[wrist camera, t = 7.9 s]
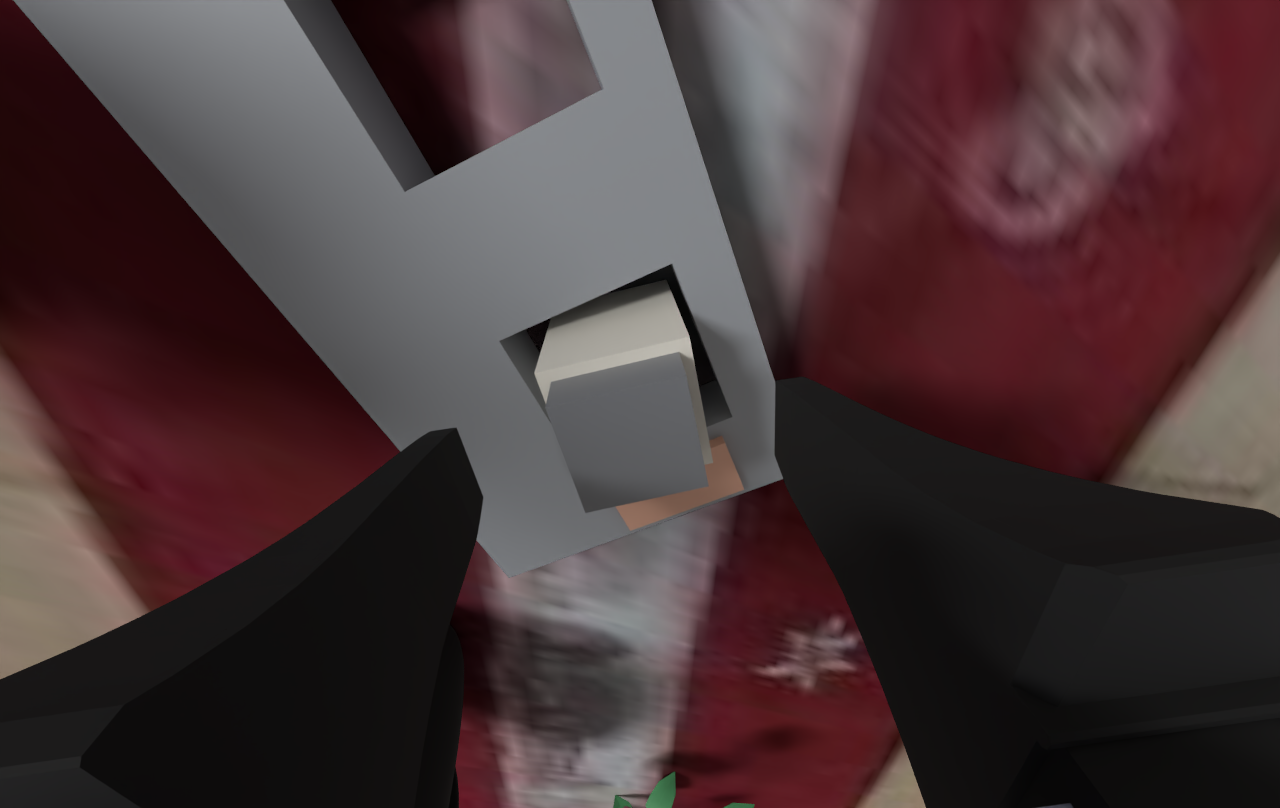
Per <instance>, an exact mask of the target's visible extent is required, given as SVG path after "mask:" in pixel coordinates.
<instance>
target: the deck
mask: <svg viewBox="0 0 1280 808" xmlns="http://www.w3.org/2000/svg"><path fill="white" fill-rule="evenodd" d="M14 2H15V3H16V4H17V5H18V6H19V7H20V9H21V10H22V11H23V12H24V13H25V14H26V16H27V17H28V18H29V19H30V20H31V21H32V23H33V24H34V25H35V26H36V27H37V28H38V30H39V31H40V32H41V33H42V34H43V35H44V37H45V38H46V39H47V40H48V41H49V42H50V44H51V45H52V46H53V47H54V48H55V49H56V51H57V52H58V53H59V54H60V55H61V56H62V57H63V59H64V60H65V61H66V62H67V63H68V64H69V66H70V67H71V68H72V69H73V70H74V71H75V73H76V74H77V75H78V76H79V77H80V78H81V80H82V81H83V82H84V83H85V84H86V85H87V87H88V88H89V89H90V90H91V91H92V92H93V94H94V95H95V96H96V97H97V98H98V99H99V101H100V102H101V103H102V104H103V105H104V106H105V108H106V109H107V110H108V111H109V112H110V113H111V115H112V116H113V117H114V118H115V119H116V120H117V122H118V123H119V124H120V125H121V126H122V127H123V129H124V130H125V131H126V132H127V133H128V134H129V136H130V137H131V138H132V139H133V140H134V141H135V143H136V144H137V145H138V146H139V147H140V148H141V150H142V151H143V152H144V153H145V154H146V155H147V157H148V158H149V159H150V160H151V161H152V162H153V164H154V165H155V166H156V167H157V168H158V169H159V171H160V172H161V173H162V174H163V175H164V176H165V178H166V179H167V180H168V181H169V182H170V183H171V185H172V186H173V187H174V188H175V189H176V190H177V192H178V193H179V194H180V195H181V196H182V197H183V199H184V200H185V201H186V202H187V203H188V204H189V206H190V207H191V208H192V209H193V210H194V211H195V213H196V214H197V215H198V216H199V217H200V218H201V220H202V221H203V222H204V223H205V224H206V225H207V227H208V228H209V229H210V230H211V231H212V232H213V234H214V235H215V236H216V237H217V238H218V239H219V241H220V242H221V243H222V244H223V245H224V246H225V248H226V249H227V250H228V251H229V252H230V253H231V254H232V256H233V257H234V258H235V259H236V260H237V261H238V263H239V264H240V265H241V266H242V267H243V268H244V270H245V271H246V272H247V273H248V274H249V275H250V277H251V278H252V279H253V280H254V281H255V282H256V284H257V285H258V286H259V287H260V288H261V289H262V291H263V292H264V293H265V294H266V295H267V296H268V298H269V299H270V300H271V301H272V302H273V303H274V305H275V306H276V307H277V308H278V309H279V310H280V312H281V313H282V314H283V315H284V316H285V317H286V319H287V320H288V321H289V322H290V323H291V324H292V326H293V327H294V328H295V329H296V330H297V331H298V333H299V334H300V335H301V336H302V337H303V338H304V340H305V341H306V342H307V343H308V344H309V345H310V347H311V348H312V349H313V350H314V351H315V352H316V354H317V355H318V356H319V357H320V358H321V359H322V361H323V362H324V363H325V364H326V365H327V366H328V368H329V369H330V370H331V371H332V372H333V373H334V375H335V376H336V377H337V378H338V379H339V380H340V382H341V383H342V384H343V385H344V386H345V387H346V389H347V390H348V391H349V392H350V393H351V394H352V396H353V397H354V398H355V399H356V400H357V401H358V403H359V404H360V405H361V406H362V407H363V408H364V410H365V411H366V412H367V413H368V414H369V415H370V417H371V418H372V419H373V420H374V421H375V422H376V424H377V425H378V426H379V427H380V428H381V429H382V431H383V432H384V433H385V434H386V435H387V436H388V438H389V439H390V440H391V441H392V442H393V443H394V445H395V446H396V447H397V448H398V449H399V450H400V451H402V450H404V449H405V448H406V447H408V446H409V445H410V444H412V443H413V442H414V441H416V440H417V439H418V438H420V437H421V436H423V435H425V434H426V433H428V432H430V431H435V430H442V429H449V428H456V427H457V430H458V433H459V435H460V438H461V440H462V443H463V445H464V448H465V451H466V453H467V456H468V458H469V461H470V463H471V466H472V469H473V471H474V474H475V476H476V479H477V482H478V484H479V487H480V489H481V492H482V494H483V504H482V511H481V518H480V524H479V529H478V535H477V539H476V540H477V541H478V542H479V544H480V545H481V546H482V547H483V548H484V549H485V551H486V552H487V553H488V554H489V555H490V556H491V558H492V559H493V560H494V561H495V562H496V563H497V565H498V566H499V567H500V568H501V569H502V570H503V572H504V573H505V574H506V575H507V576H508V577H509V578H510V577H513V576H516V575H518V574H521V573H524V572H527V571H529V570H532V569H535V568H538V567H541V566H543V565H546V564H549V563H552V562H554V561H557V560H560V559H563V558H565V557H568V556H571V555H574V554H576V553H579V552H582V551H585V550H588V549H590V548H593V547H596V546H599V545H601V544H604V543H607V542H610V541H612V540H615V539H618V538H621V537H623V536H626V535H629V534H632V533H635V532H637V531H640V530H643V529H646V528H648V527H651V526H654V525H657V524H659V523H662V522H665V521H668V520H671V519H673V518H676V517H679V516H682V515H684V514H687V513H690V512H693V511H695V510H698V509H701V508H704V507H706V506H709V505H712V504H715V503H718V502H720V501H723V500H726V499H729V498H731V497H734V496H737V495H740V494H742V493H745V492H748V491H751V490H753V489H756V488H759V487H762V486H765V485H767V484H770V483H773V482H776V481H778V480H781V479H783V477H782V474H781V471H780V469H779V466H778V463H777V461H776V458H775V455H774V448H775V380H774V377H773V374H772V371H771V368H770V365H769V362H768V359H767V356H766V353H765V350H764V346H763V343H762V340H761V337H760V334H759V331H758V328H757V325H756V322H755V319H754V316H753V312H752V309H751V306H750V303H749V300H748V297H747V294H746V291H745V288H744V285H743V281H742V278H741V275H740V272H739V269H738V266H737V263H736V260H735V257H734V254H733V251H732V247H731V244H730V241H729V238H728V235H727V232H726V229H725V226H724V223H723V220H722V217H721V213H720V210H719V207H718V204H717V201H716V198H715V195H714V192H713V189H712V186H711V183H710V179H709V176H708V173H707V170H706V167H705V164H704V161H703V158H702V155H701V152H700V149H699V145H698V142H697V139H696V136H695V133H694V130H693V127H692V124H691V121H690V118H689V114H688V111H687V108H686V105H685V102H684V99H683V96H682V93H681V90H680V87H679V84H678V80H677V77H676V74H675V71H674V68H673V65H672V62H671V59H670V56H669V53H668V50H667V46H666V43H665V40H664V37H663V34H662V31H661V28H660V25H659V22H658V19H657V16H656V12H655V9H654V6H653V3H652V0H567V3H568V6H569V8H570V11H571V13H572V16H573V18H574V21H575V23H576V26H577V28H578V31H579V33H580V36H581V38H582V41H583V44H584V46H585V49H586V51H587V54H588V56H589V59H590V61H591V64H592V66H593V69H594V71H595V74H596V76H597V79H598V82H599V84H600V87H601V89H602V90H600V91H598V92H596V93H594V94H592V95H591V96H589V97H587V98H585V99H583V100H581V101H579V102H577V103H575V104H573V105H571V106H569V107H567V108H565V109H564V110H562V111H560V112H558V113H556V114H554V115H552V116H550V117H548V118H546V119H544V120H542V121H540V122H539V123H537V124H535V125H533V126H531V127H529V128H527V129H525V130H523V131H521V132H519V133H517V134H515V135H513V136H512V137H510V138H508V139H506V140H504V141H502V142H500V143H498V144H496V145H494V146H492V147H490V148H488V149H486V150H485V151H483V152H481V153H479V154H477V155H475V156H473V157H471V158H469V159H467V160H465V161H463V162H461V163H459V164H458V165H456V166H454V167H452V168H450V169H448V170H446V171H444V172H442V173H440V174H438V175H436V176H435V175H434V174H433V172H432V170H431V168H430V167H429V165H428V163H427V162H426V160H425V158H424V157H423V155H422V153H421V152H420V150H419V148H418V146H417V145H416V143H415V141H414V140H413V138H412V136H411V135H410V133H409V131H408V130H407V128H406V126H405V125H404V123H403V121H402V119H401V118H400V116H399V114H398V113H397V111H396V109H395V108H394V106H393V104H392V103H391V101H390V99H389V97H388V96H387V94H386V92H385V91H384V89H383V87H382V86H381V84H380V82H379V81H378V79H377V77H376V76H375V74H374V72H373V70H372V69H371V67H370V65H369V64H368V62H367V60H366V59H365V57H364V55H363V54H362V52H361V50H360V48H359V47H358V45H357V43H356V42H355V40H354V38H353V37H352V35H351V33H350V32H349V30H348V28H347V27H346V25H345V23H344V21H343V20H342V18H341V16H340V15H339V13H338V11H337V10H336V8H335V6H334V5H333V3H332V1H331V0H14ZM670 264H671V267H672V269H673V272H674V274H675V277H676V279H677V282H678V284H679V287H680V289H681V292H682V294H683V297H684V299H685V302H686V305H687V307H688V310H689V312H690V315H691V317H692V320H693V322H694V325H695V327H696V330H697V332H698V335H699V337H700V340H701V343H702V345H703V348H704V350H705V353H706V355H707V358H708V360H709V363H710V365H711V368H712V370H713V373H714V375H715V378H716V380H714V381H712V382H709V383H707V384H704V385H702V386H699V390H700V395H701V400H702V406H703V411H704V416H705V422H706V427H707V432H708V437H709V443H710V448H711V453H712V459H713V463H711V464H706V465H705V470H706V475H707V480H708V485H709V486H708V487H703V488H699V489H694V490H690V491H685V492H680V493H676V494H671V495H667V496H662V497H657V498H653V499H648V500H643V501H639V502H634V503H630V504H625V505H620V506H616V507H611V508H607V509H602V510H597V511H593V512H588V513H585V511H584V508H583V505H582V503H581V500H580V498H579V495H578V492H577V490H576V487H575V484H574V482H573V479H572V477H571V474H570V471H569V469H568V466H567V464H566V461H565V458H564V456H563V453H562V451H561V448H560V445H559V443H558V440H557V438H556V435H555V432H554V430H553V427H552V425H551V422H550V419H549V417H548V414H547V411H546V409H545V406H546V403H545V401H544V398H543V395H542V393H541V390H540V387H539V385H538V382H537V380H536V377H535V374H534V372H535V369H536V366H537V362H538V359H539V356H540V353H539V351H538V349H537V348H536V346H535V344H534V342H533V341H532V339H531V337H530V336H529V334H528V332H527V331H526V329H527V328H529V327H532V326H534V325H536V324H538V323H541V322H543V321H545V320H547V319H549V318H552V317H554V316H556V315H558V314H561V313H563V312H565V311H567V310H570V309H572V308H574V307H576V306H579V305H581V304H583V303H585V302H587V301H590V300H592V299H594V298H596V297H599V296H601V295H603V294H605V293H608V292H610V291H612V290H614V289H616V288H619V287H621V286H623V285H625V284H628V283H630V282H632V281H634V280H637V279H639V278H641V277H643V276H646V275H648V274H650V273H652V272H654V271H657V270H659V269H661V268H663V267H666V266H668V265H670Z"/></svg>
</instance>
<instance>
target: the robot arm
mask: <svg viewBox="0 0 1280 808" xmlns="http://www.w3.org/2000/svg"><path fill="white" fill-rule="evenodd" d="M774 455H775V458H776V461H777V463H778V466H779V469H780V471H781V474H782V477H783V479H784V482H785V484H786V487H787V489H788V492H789V494H790V496H791V497H792V499H793V501H794V503H795V505H796V507H797V508H798V510H799V512H800V514H801V516H802V518H803V519H804V521H805V523H806V525H807V527H808V528H809V530H810V532H811V534H812V536H813V537H814V539H815V541H816V543H817V545H818V546H819V548H820V550H821V552H822V554H823V555H824V557H825V559H826V561H827V563H828V564H829V566H830V568H831V570H832V572H833V573H834V575H835V577H836V579H837V581H838V583H839V585H840V587H841V589H842V591H843V594H844V596H845V598H846V601H847V603H848V605H849V608H850V610H851V612H852V615H853V617H854V619H855V622H856V624H857V626H858V629H859V631H860V633H861V636H862V638H863V641H864V643H865V646H866V648H867V651H868V653H869V656H870V658H871V661H872V663H873V666H874V668H875V671H876V673H877V676H878V678H879V680H880V683H881V685H882V688H883V691H884V693H885V696H886V699H887V701H888V704H889V707H890V709H891V712H892V715H893V717H894V720H895V722H896V725H897V728H898V730H899V733H900V736H901V738H902V741H903V744H904V746H905V749H906V752H907V755H908V758H909V760H910V763H911V766H912V769H913V772H914V775H915V777H916V780H917V783H918V786H919V789H920V792H921V794H922V797H923V800H924V803H925V806H926V808H1280V518H1278V517H1277V516H1275V515H1273V514H1271V513H1269V512H1266V511H1264V510H1260V509H1253V508H1246V507H1240V506H1233V505H1227V504H1220V503H1214V502H1207V501H1201V500H1194V499H1188V498H1181V497H1174V496H1168V495H1161V494H1155V493H1149V492H1144V491H1138V490H1133V489H1128V488H1123V487H1118V486H1113V485H1108V484H1103V483H1098V482H1094V481H1089V480H1084V479H1080V478H1075V477H1071V476H1067V475H1062V474H1058V473H1054V472H1049V471H1046V470H1042V469H1038V468H1034V467H1031V466H1027V465H1023V464H1019V463H1016V462H1012V461H1008V460H1004V459H1001V458H998V457H994V456H991V455H988V454H984V453H981V452H978V451H975V450H972V449H969V448H966V447H963V446H960V445H957V444H955V443H952V442H949V441H946V440H943V439H940V438H938V437H935V436H932V435H930V434H927V433H925V432H922V431H920V430H917V429H915V428H913V427H910V426H908V425H905V424H903V423H901V422H898V421H896V420H894V419H891V418H889V417H887V416H885V415H883V414H880V413H878V412H876V411H874V410H872V409H870V408H868V407H866V406H863V405H861V404H859V403H857V402H855V401H853V400H851V399H849V398H847V397H845V396H843V395H841V394H839V393H837V392H835V391H833V390H831V389H829V388H827V387H825V386H823V385H821V384H819V383H817V382H815V381H812V380H810V379H808V378H805V377H797V378H790V379H783V380H777V381H775V448H774ZM482 504H483V494H482V492H481V489H480V487H479V484H478V482H477V479H476V476H475V474H474V471H473V469H472V466H471V463H470V461H469V458H468V456H467V453H466V451H465V448H464V445H463V443H462V440H461V438H460V435H459V433H458V430H457V427H456V428H449V429H442V430H435V431H430V432H428V433H426V434H425V435H423V436H421V437H420V438H418V439H417V440H416V441H414V442H413V443H412V444H410V445H409V446H408V447H406V448H405V449H404V450H402V451H401V452H400V453H398V454H397V455H396V456H395V457H393V458H392V459H391V460H389V461H388V462H387V463H386V464H384V465H383V466H382V467H380V468H379V469H378V470H377V471H375V472H374V473H373V474H371V475H370V476H369V477H368V478H366V479H365V480H364V481H362V482H361V483H360V484H359V485H357V486H356V487H355V488H353V489H352V490H351V491H349V492H348V493H346V494H345V495H344V496H342V497H341V498H340V499H338V500H337V501H335V502H334V503H333V504H331V505H330V506H329V507H327V508H326V509H324V510H323V511H322V512H320V513H319V514H318V515H316V516H315V517H314V518H312V519H311V520H309V521H308V522H306V523H305V524H303V525H302V526H300V527H299V528H297V529H296V530H294V531H293V532H291V533H290V534H288V535H287V536H285V537H284V538H282V539H280V540H279V541H277V542H276V543H274V544H272V545H271V546H269V547H267V548H266V549H264V550H263V551H261V552H259V553H258V554H256V555H255V556H253V557H251V558H249V559H248V560H246V561H244V562H243V563H241V564H239V565H237V566H235V567H234V568H232V569H230V570H228V571H226V572H225V573H223V574H221V575H219V576H217V577H216V578H214V579H212V580H210V581H208V582H206V583H205V584H203V585H201V586H199V587H197V588H196V589H194V590H192V591H190V592H188V593H187V594H185V595H183V596H181V597H179V598H177V599H175V600H173V601H171V602H169V603H167V604H165V605H163V606H161V607H159V608H157V609H155V610H153V611H151V612H149V613H147V614H145V615H143V616H141V617H139V618H137V619H135V620H133V621H131V622H129V623H127V624H124V625H122V626H120V627H118V628H116V629H114V630H112V631H110V632H108V633H106V634H103V635H101V636H99V637H97V638H95V639H93V640H90V641H88V642H86V643H84V644H82V645H79V646H77V647H75V648H73V649H71V650H68V651H66V652H64V653H61V654H59V655H57V656H54V657H52V658H50V659H47V660H45V661H42V662H40V663H38V664H35V665H33V666H31V667H28V668H26V669H24V670H21V671H19V672H17V673H14V674H12V675H10V676H7V677H5V678H3V679H0V808H414V806H415V799H416V792H417V786H418V779H419V772H420V766H421V759H422V752H423V747H424V741H425V736H426V730H427V724H428V719H429V713H430V708H431V702H432V697H433V692H434V687H435V682H436V678H437V673H438V668H439V663H440V658H441V653H442V649H443V645H444V642H445V638H446V634H447V631H448V627H449V624H450V621H451V618H452V615H453V612H454V609H455V605H456V602H457V599H458V596H459V593H460V590H461V587H462V584H463V581H464V577H465V574H466V571H467V568H468V565H469V562H470V558H471V555H472V552H473V549H474V546H475V542H476V539H477V535H478V529H479V524H480V518H481V511H482Z"/></svg>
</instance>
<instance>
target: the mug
mask: <svg viewBox="0 0 1280 808" xmlns="http://www.w3.org/2000/svg"><path fill="white" fill-rule="evenodd" d="M463 695H464V660H463V653H462V648H461V644H460V641H459V638H458V636H457V634H456V632H455V631H454V629H453V628H452V626H451V625H450V624H449V627H448V631H447V634H446V638H445V642H444V645H443V649H442V653H441V658H440V663H439V668H438V673H437V678H436V682H435V687H434V692H433V697H432V702H431V708H430V713H429V719H428V724H427V730H426V736H425V741H424V747H423V752H422V759H421V766H420V772H419V779H418V786H417V792H416V799H415V806H414V808H459V791H458V780H457V773H456V768H455V764H456V758H457V751H458V743H459V735H460V727H461V718H462V708H463Z"/></svg>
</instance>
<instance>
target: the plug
mask: <svg viewBox="0 0 1280 808" xmlns="http://www.w3.org/2000/svg"><path fill="white" fill-rule="evenodd" d="M534 374H535V377H536V380H537V382H538V385H539V387H540V390H541V393H542V395H543V398H544V401H545V403H546V406H545V409H546V411H547V414H548V417H549V419H550V422H551V425H552V427H553V430H554V432H555V435H556V438H557V440H558V443H559V445H560V448H561V451H562V453H563V456H564V458H565V461H566V464H567V466H568V469H569V471H570V474H571V477H572V479H573V482H574V484H575V487H576V490H577V492H578V495H579V498H580V500H581V503H582V505H583V508H584V511H585V513H588V512H593V511H597V510H602V509H607V508H611V507H616V506H620V505H625V504H630V503H634V502H639V501H643V500H648V499H653V498H657V497H662V496H667V495H671V494H676V493H680V492H685V491H690V490H694V489H699V488H703V487H708V486H709V485H708V480H707V475H706V470H705V465H706V464H711V463H713V459H712V453H711V448H710V443H709V437H708V432H707V427H706V422H705V416H704V411H703V406H702V400H701V395H700V390H699V385H698V379H697V374H696V369H695V363H694V358H693V353H692V347H691V342H690V337H689V334H688V332H687V329H686V327H685V324H684V322H683V319H682V317H681V315H680V312H679V310H678V307H677V305H676V302H675V300H674V297H673V295H672V292H671V290H670V287H669V285H668V282H667V280H662V281H658V282H654V283H650V284H646V285H641V286H637V287H633V288H629V289H625V290H621V291H617V292H613V293H609V294H605V295H601V296H599V297H596V298H594V299H592V300H590V301H587V302H585V303H583V304H581V305H579V306H576V307H574V308H572V309H570V310H567V311H565V312H563V313H561V314H558V315H556V316H554V317H552V318H551V320H550V323H549V326H548V329H547V333H546V336H545V339H544V343H543V346H542V349H541V352H540V356H539V359H538V362H537V366H536V369H535V372H534Z"/></svg>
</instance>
